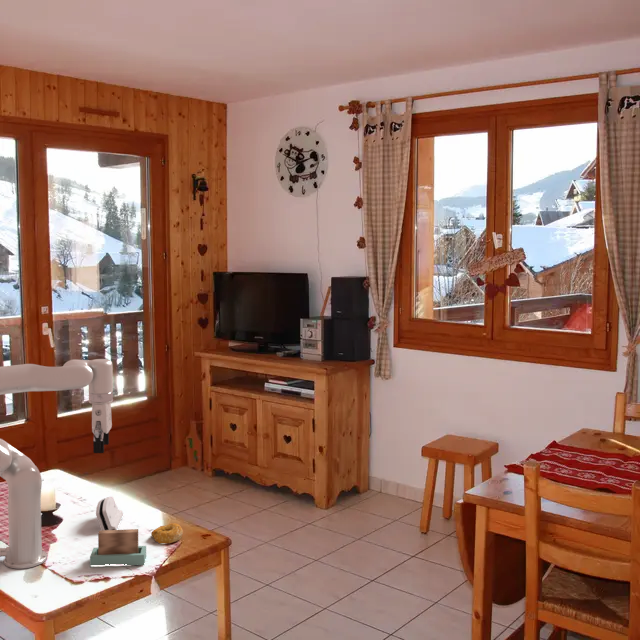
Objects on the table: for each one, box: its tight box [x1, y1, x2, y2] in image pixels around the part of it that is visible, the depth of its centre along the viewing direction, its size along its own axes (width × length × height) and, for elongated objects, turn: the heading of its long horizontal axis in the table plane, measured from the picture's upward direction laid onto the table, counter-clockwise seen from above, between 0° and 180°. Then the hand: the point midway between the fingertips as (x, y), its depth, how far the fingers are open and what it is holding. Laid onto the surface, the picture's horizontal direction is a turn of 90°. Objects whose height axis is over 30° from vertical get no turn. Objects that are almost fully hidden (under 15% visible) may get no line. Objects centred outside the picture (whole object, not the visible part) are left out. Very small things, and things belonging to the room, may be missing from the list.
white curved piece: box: [95, 496, 124, 531], centre depth 267 cm, size 17×5×10 cm, turn 7°
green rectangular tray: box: [89, 545, 147, 566], centre depth 236 cm, size 16×7×4 cm, turn 98°
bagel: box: [150, 522, 184, 545], centre depth 255 cm, size 10×11×5 cm
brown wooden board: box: [97, 528, 139, 555], centre depth 235 cm, size 12×2×9 cm, turn 98°
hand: (101, 448), depth 244 cm, fingers open, 9 cm apart
